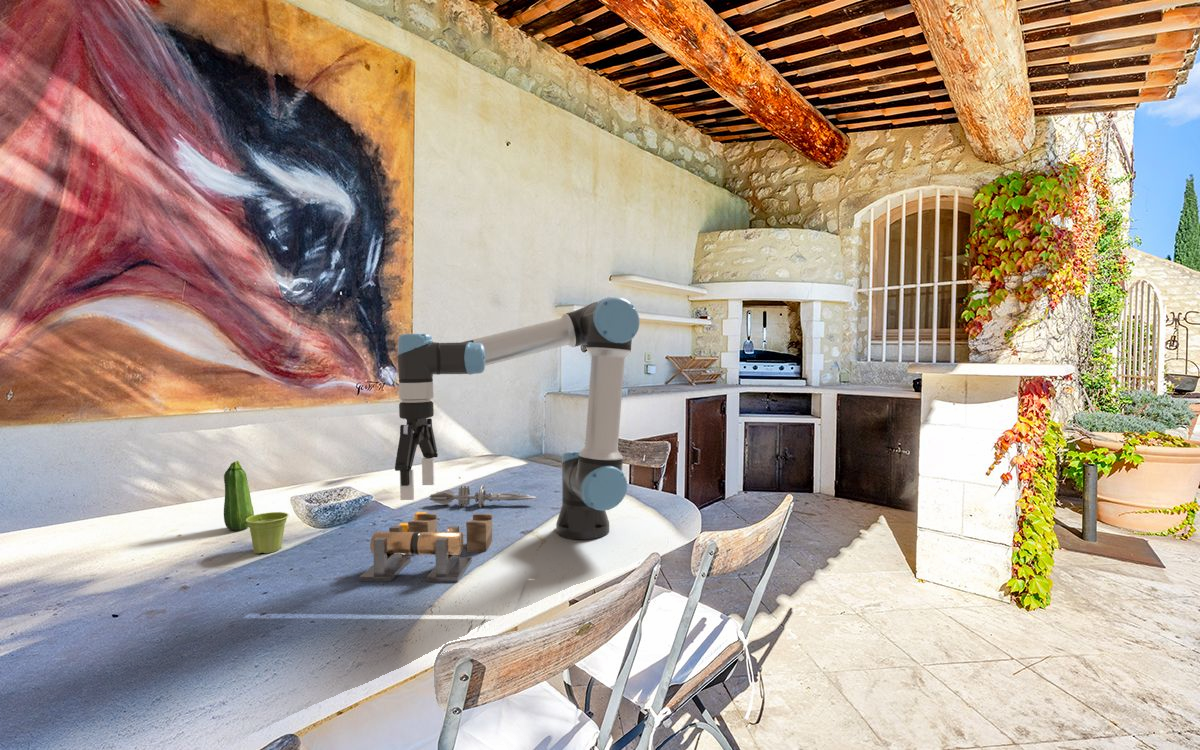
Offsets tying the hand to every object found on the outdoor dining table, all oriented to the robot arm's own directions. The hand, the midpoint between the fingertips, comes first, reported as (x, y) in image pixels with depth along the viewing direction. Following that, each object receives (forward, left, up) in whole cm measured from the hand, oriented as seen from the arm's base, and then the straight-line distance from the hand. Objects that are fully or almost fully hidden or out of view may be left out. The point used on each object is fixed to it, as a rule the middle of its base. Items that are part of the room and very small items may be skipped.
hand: (418, 491), depth 124 cm
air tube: (0, 0, -12) cm, 12 cm away
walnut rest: (-3, -16, -19) cm, 25 cm away
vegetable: (+63, -29, -19) cm, 72 cm away
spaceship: (-2, -52, -19) cm, 55 cm away
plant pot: (+44, -13, -19) cm, 50 cm away
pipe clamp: (+10, -20, -19) cm, 29 cm away
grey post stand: (0, 0, -19) cm, 19 cm away
